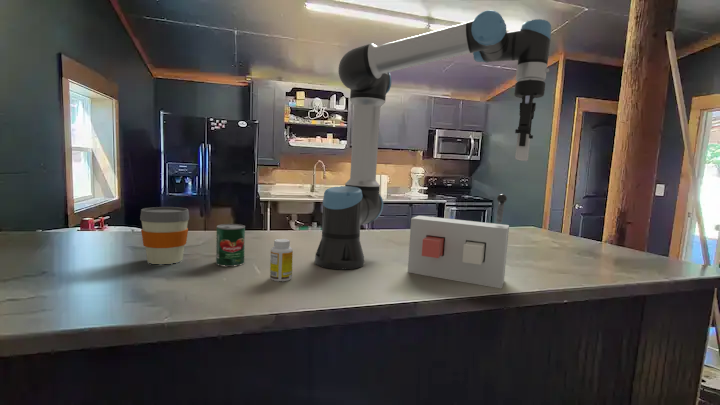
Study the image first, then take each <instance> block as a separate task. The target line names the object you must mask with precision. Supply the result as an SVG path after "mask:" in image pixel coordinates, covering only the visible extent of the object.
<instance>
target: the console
mask: <svg viewBox="0 0 720 405" xmlns="http://www.w3.org/2000/svg"><path fill="white" fill-rule="evenodd" d="M409 229H410V232H409V233H410V234H409V243H408V244H409V246H408V260H407V261H408V262H407V273H410V274H416V275H422V276H426V277H427V276H428V277H433V278H439V279H445V280H450V281H455V282H456V281H457V282H463V283H466V284H467V283H468V284H473V285H479V286H486V287H491V288H496V289H502V288H503V285H504V283H505V276H506V275H505V274H506V266H507V265H506V264H507V254H508V253H507V252H508V240H509V233H510V232H509V231H510V224H502V223H500V224H498V223H493V222H483V221H482V222H481V221H475V220H474V221H473V220H464V219H457V218H456V219H454V218H448V217H447V218H446V217H437V216H427V215H417V216H412V217H411V218H410V228H409ZM428 236H432V237H440V238H445V239H444V252H443V255H442V256H440V257H439V258H433V257H426V256H422V244H423V239H424V238H426V237H428ZM467 241H471V242H479V243H485V251H484V260H483V262H482V263H481V265H479V264H473V263H466V262H462V261H463V249H464V244H465V243H466V242H467Z"/></svg>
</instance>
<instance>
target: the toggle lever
mask: <svg viewBox="0 0 720 405" xmlns="http://www.w3.org/2000/svg"><path fill="white" fill-rule="evenodd" d="M496 200H497V211H496V216H495V222H496V224H502V223H503V216H504V209H505V203H506V202H507V201H508V198H507V195H505V194H504V193H501V194H498V195H497V197H496Z"/></svg>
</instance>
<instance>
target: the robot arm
mask: <svg viewBox="0 0 720 405" xmlns="http://www.w3.org/2000/svg"><path fill="white" fill-rule="evenodd" d="M551 34H552V24H551V23H550V21H548V20H547V19H540V18H539V19H538V18H537V19H536V18H535V19H531V20H527V21H525V22H523V23H522V25H521V27H520V30H515V31H507V24H506V22H505V20H504V18H503V16H502V15H501V14H500V13H499V12H498V11H496V10H491V9H487V10H484V11H482V12H480V13H478V15H477V16H475V18H474V19H473V20H469V21H468V22H463V23H459V24H455V25H452V26H451V25H450V26H447V27H445V28H440V29H436V30H433V31H429V32H425V33H422V34H419V35H414V36H411V37H410V36H409V37H407V38H402V39H398V40H396V41H391V42H387V43H383V44H381V45H376V44H374V43H368V44H365V45H361V46H358V47H355V48H352V49H351V50H349V51H348V52H346V53H345V54H344V55H343V56H342V58H341V59H340V61H339V64H338V69H337V70H338V76H339V79H340V81H341V83H342V85H344V86H345V87H346V88H348V89H349V91H350V96H349V102H351V104H352V105H353V120H352V138H351V139H352V141H351V154H350V155H351V159H350V175H349V179H348V180H347V181H346V182H345V183H344V185H343V186H342V185H341V186H333V187H329V188H326V189H325V191H324V194H323V199H322V221H321V222H322V223H321V225H322V226H321V238H320V241H319V245H318V247H317V250H316V252H315V256H314V263H315V265H316V266H318V267H320V268H325V269H330V270H331V269H332V270H354V269H355V270H356V269H359V268H361V267H364V265H365V254H364V251H363V248H362V245H361V238H360V237H361V236H360V235H361V226H363V225H369V224H371V223H372V222H374V221H376V220H377V219H378V218H379V217H380V216H381V214H382V212H383V210H384V200H383V197H382V196H381V194H380V192H381V191H380V186H381V185H380V184H379V183H378V181H377V177H376V176H377V166H378V165H377V164H378V152H379V151H378V147H379V133H380V132H379V130H380V117H381V107H382V106H383V105H384V104H386V97H387V96H386V95H387V93H389V91H390V90H391V87H392V74H391V73H392V72H395V71H399V70H403V69H407V68H412V67H416V66H420V65H424V64H429V63H433V62H434V63H435V62H437V61H442V60H446V59H447V60H448V59H450V58H454V57H459V56H464V55H467V54H473V60H474V61H475V62H478V63H482V62H483V63H490V62H491V63H493V62H507V61H508V62H509V61H517V65H516V73H515V81H516V83H515V86H514V97H516V98H518V99H521V100H522V101H521V102H520V103H519V113H518V114H519V121H518V127H517V128H516V129H515V130H514V133H515V134H517V139H516V145H515V146H516V148H515V157H514V159H515V160H517V161H519V162H520V161H522V162H528V161H529V154H530V146H531V139H533V138H534V135H532V123H533V119H534V116H535V112H536V108H537V106H536V105H537V103H536V102H534V99H539V98H543V97H544V96H545V88H546V82H545V80H546V79H547V73H549V72H550V68H548V62H549V57H550V56H549V55H550V54H549V53H550V47H551V37H552V35H551Z"/></svg>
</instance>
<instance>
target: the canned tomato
mask: <svg viewBox="0 0 720 405" xmlns="http://www.w3.org/2000/svg"><path fill="white" fill-rule="evenodd" d="M245 233H246V225H243V224H240V223H239V224H238V223H223V224H218V225H216V243H215V244H216V247H215V248H216V252H215V254H216V255H215V256H216V258H215V264H216V265H217V264H219V265H225V266H234V265H240V264H243V263H244V264H245V250H246V249H245V242H246V240H245V239H246V234H245ZM244 264H243V265H244ZM219 265H218V266H219ZM240 266H241V265H240ZM234 267H235V266H234Z"/></svg>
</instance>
